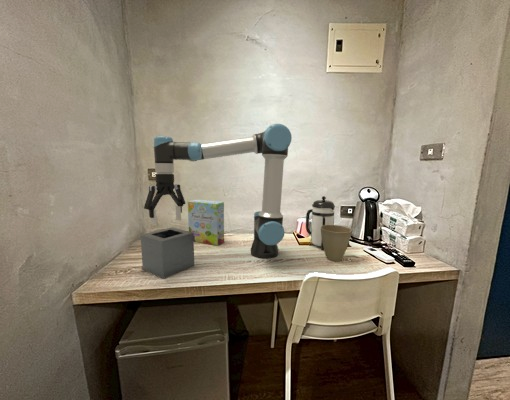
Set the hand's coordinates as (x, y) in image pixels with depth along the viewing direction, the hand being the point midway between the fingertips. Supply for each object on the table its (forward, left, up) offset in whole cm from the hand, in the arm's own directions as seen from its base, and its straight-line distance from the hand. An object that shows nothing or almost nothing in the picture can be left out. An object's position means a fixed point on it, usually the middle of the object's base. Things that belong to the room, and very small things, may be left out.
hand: (167, 222), depth 100 cm
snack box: (+14, -36, -21) cm, 44 cm away
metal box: (0, 0, -21) cm, 21 cm away
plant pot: (-59, -56, -21) cm, 84 cm away
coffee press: (-46, -71, -21) cm, 87 cm away
